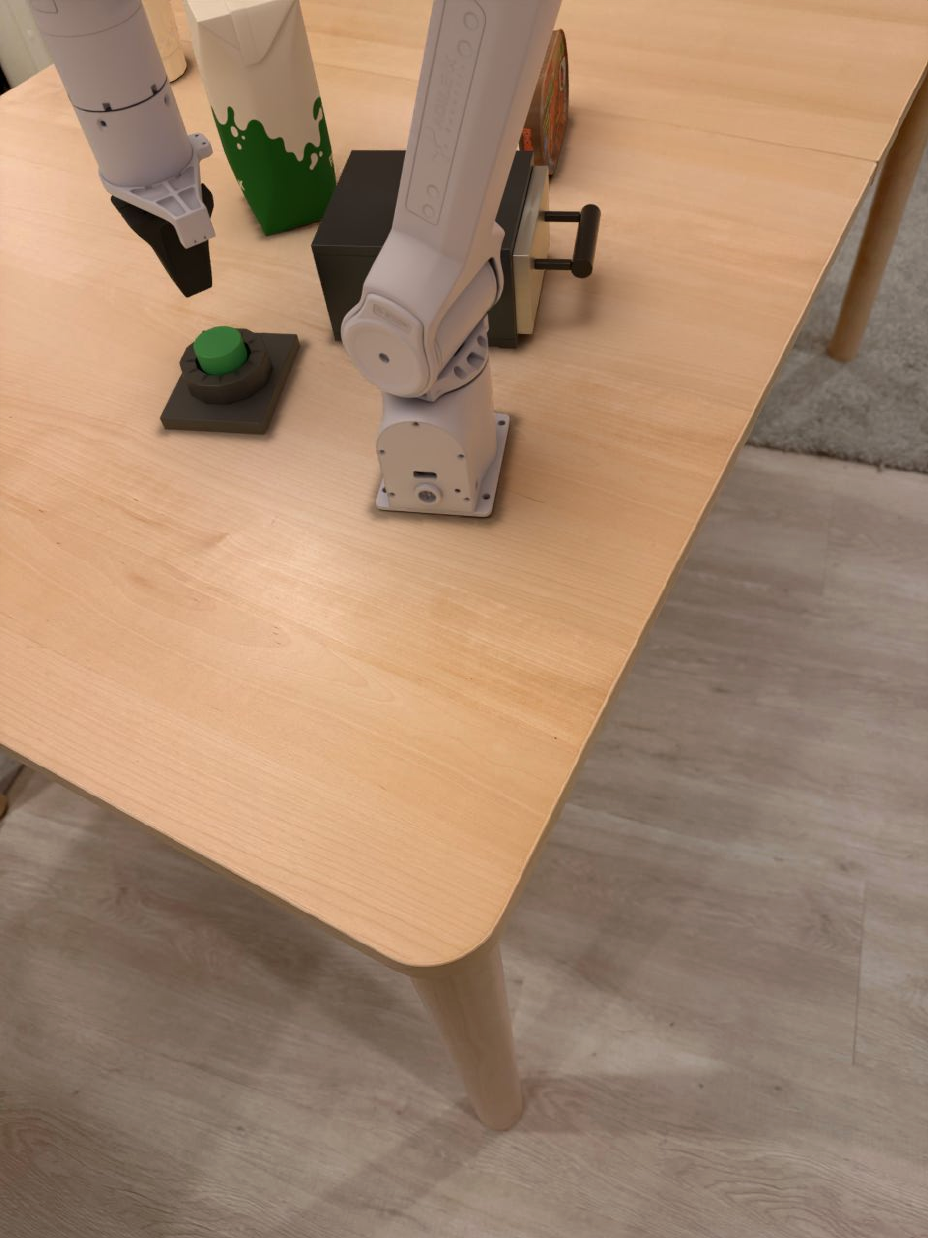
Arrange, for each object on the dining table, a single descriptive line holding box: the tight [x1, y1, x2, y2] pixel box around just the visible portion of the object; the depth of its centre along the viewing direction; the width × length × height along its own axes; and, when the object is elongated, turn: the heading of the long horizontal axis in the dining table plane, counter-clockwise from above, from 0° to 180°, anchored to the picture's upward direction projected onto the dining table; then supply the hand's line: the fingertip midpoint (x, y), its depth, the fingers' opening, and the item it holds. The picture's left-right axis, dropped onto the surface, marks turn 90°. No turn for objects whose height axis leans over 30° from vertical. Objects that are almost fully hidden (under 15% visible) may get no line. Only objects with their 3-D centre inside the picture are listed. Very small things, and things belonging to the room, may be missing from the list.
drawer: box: [512, 166, 602, 335], centre depth 72 cm, size 18×11×7 cm, turn 80°
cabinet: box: [310, 149, 534, 349], centre depth 73 cm, size 15×13×9 cm
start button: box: [193, 325, 248, 375], centre depth 69 cm, size 4×4×2 cm
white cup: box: [142, 0, 188, 83], centre depth 99 cm, size 8×8×10 cm
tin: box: [518, 28, 570, 176], centre depth 84 cm, size 15×3×8 cm, turn 168°
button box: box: [159, 327, 301, 436], centre depth 71 cm, size 10×8×3 cm
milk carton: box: [182, 0, 337, 237], centre depth 77 cm, size 9×9×20 cm
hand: (196, 287), depth 65 cm, fingers closed
